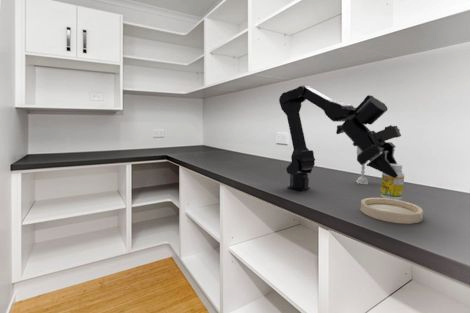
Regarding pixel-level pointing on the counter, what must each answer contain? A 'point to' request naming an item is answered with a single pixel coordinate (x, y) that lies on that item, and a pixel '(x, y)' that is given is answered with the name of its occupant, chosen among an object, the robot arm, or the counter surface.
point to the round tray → (391, 210)
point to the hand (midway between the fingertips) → (398, 175)
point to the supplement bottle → (393, 184)
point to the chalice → (361, 179)
